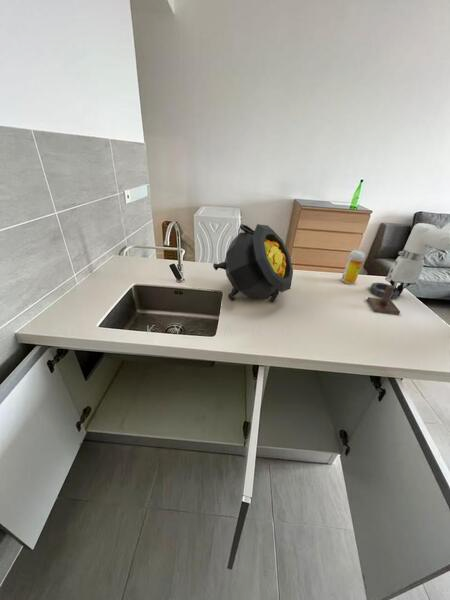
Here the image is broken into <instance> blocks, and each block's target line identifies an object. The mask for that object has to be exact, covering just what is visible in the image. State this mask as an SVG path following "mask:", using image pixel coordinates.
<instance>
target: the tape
mask: <svg viewBox="0 0 450 600" xmlns="http://www.w3.org/2000/svg"><path fill="white" fill-rule="evenodd" d="M388 285H389V284H388V283H384V282H373V283H371V285H370V287H369V292H370V293H371V294H372V295H374V296H376V297H377V298H380V299H382V297H383V295H384V293H385V291H386V288H387V286H388ZM399 292H400V291H399V290H398V289H396V291H395V292H393V294H392V296H391V298H390V300H397V298H398V297H399V296H398V294H399Z"/></svg>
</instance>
